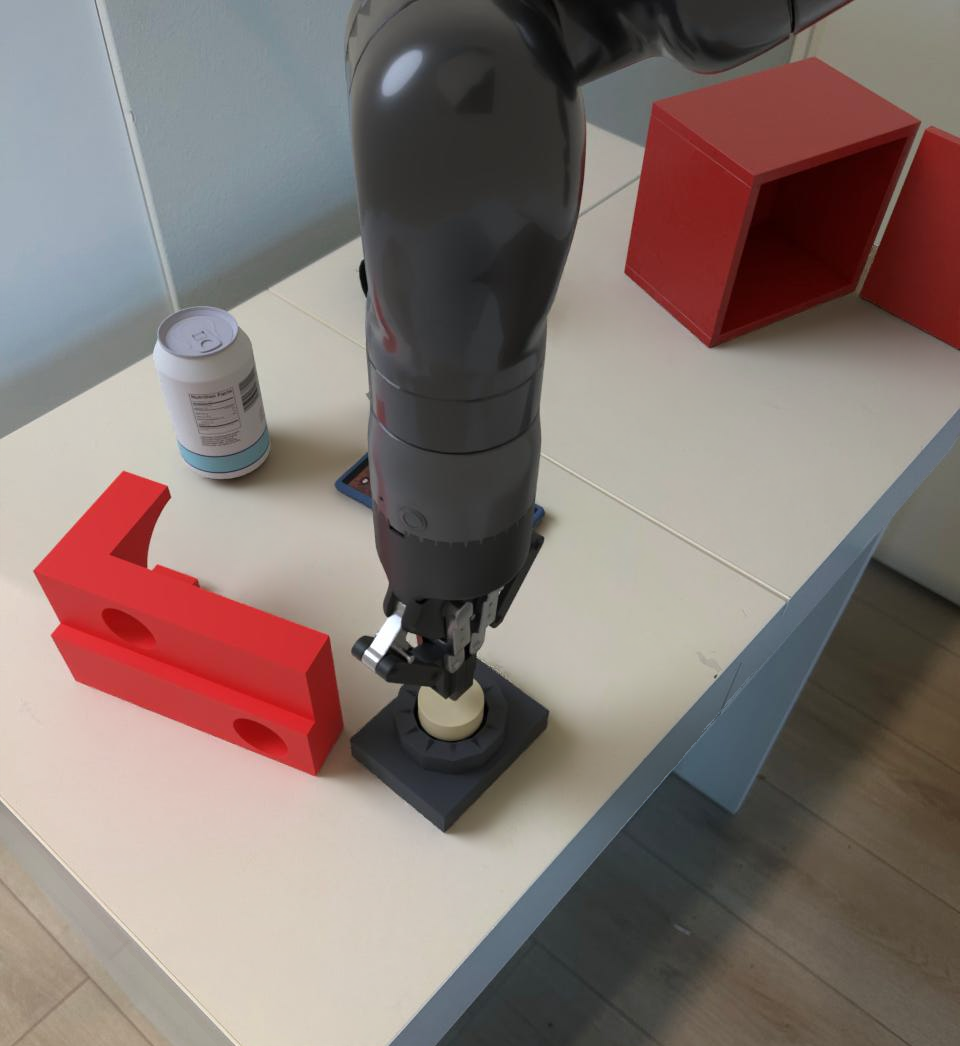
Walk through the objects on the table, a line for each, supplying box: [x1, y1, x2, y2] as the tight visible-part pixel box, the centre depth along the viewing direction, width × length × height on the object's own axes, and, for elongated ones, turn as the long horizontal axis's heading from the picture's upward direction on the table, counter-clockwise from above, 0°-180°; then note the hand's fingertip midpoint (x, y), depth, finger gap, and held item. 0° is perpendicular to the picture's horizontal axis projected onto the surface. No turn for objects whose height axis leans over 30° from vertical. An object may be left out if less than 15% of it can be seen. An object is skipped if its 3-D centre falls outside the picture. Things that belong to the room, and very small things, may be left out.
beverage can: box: [152, 305, 272, 480], centre depth 73 cm, size 7×7×12 cm
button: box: [418, 678, 484, 741], centre depth 60 cm, size 4×4×2 cm
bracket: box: [32, 470, 345, 777], centre depth 62 cm, size 18×10×10 cm
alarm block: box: [349, 656, 550, 834], centre depth 62 cm, size 10×8×4 cm
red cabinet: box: [623, 56, 922, 349], centre depth 87 cm, size 13×18×16 cm
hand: (450, 685), depth 58 cm, fingers closed
